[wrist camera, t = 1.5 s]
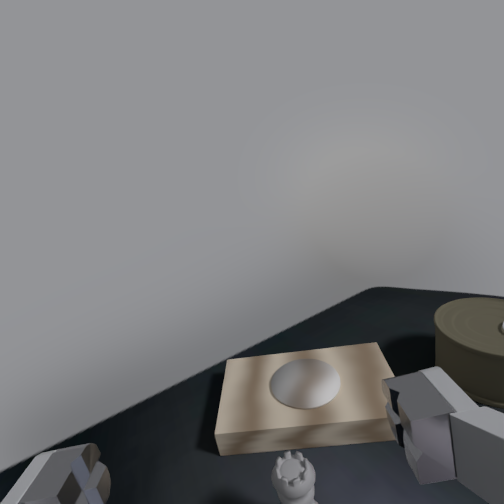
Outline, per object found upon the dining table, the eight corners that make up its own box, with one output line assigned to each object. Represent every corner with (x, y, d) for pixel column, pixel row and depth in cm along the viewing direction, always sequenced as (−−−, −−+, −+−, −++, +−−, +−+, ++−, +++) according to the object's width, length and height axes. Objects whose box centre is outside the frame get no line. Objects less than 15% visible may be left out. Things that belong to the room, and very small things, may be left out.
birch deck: (220, 455, 35) (213, 432, 34) (231, 377, 46) (226, 357, 45) (415, 438, 33) (415, 412, 32) (377, 361, 45) (376, 340, 43)
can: (442, 334, 48) (443, 291, 46) (554, 356, 40) (562, 306, 38) (423, 388, 39) (423, 339, 37) (562, 429, 32) (573, 370, 29)
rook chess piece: (275, 510, 29) (261, 442, 27) (326, 505, 29) (317, 436, 26) (278, 574, 25) (261, 500, 22) (338, 569, 25) (328, 493, 22)
